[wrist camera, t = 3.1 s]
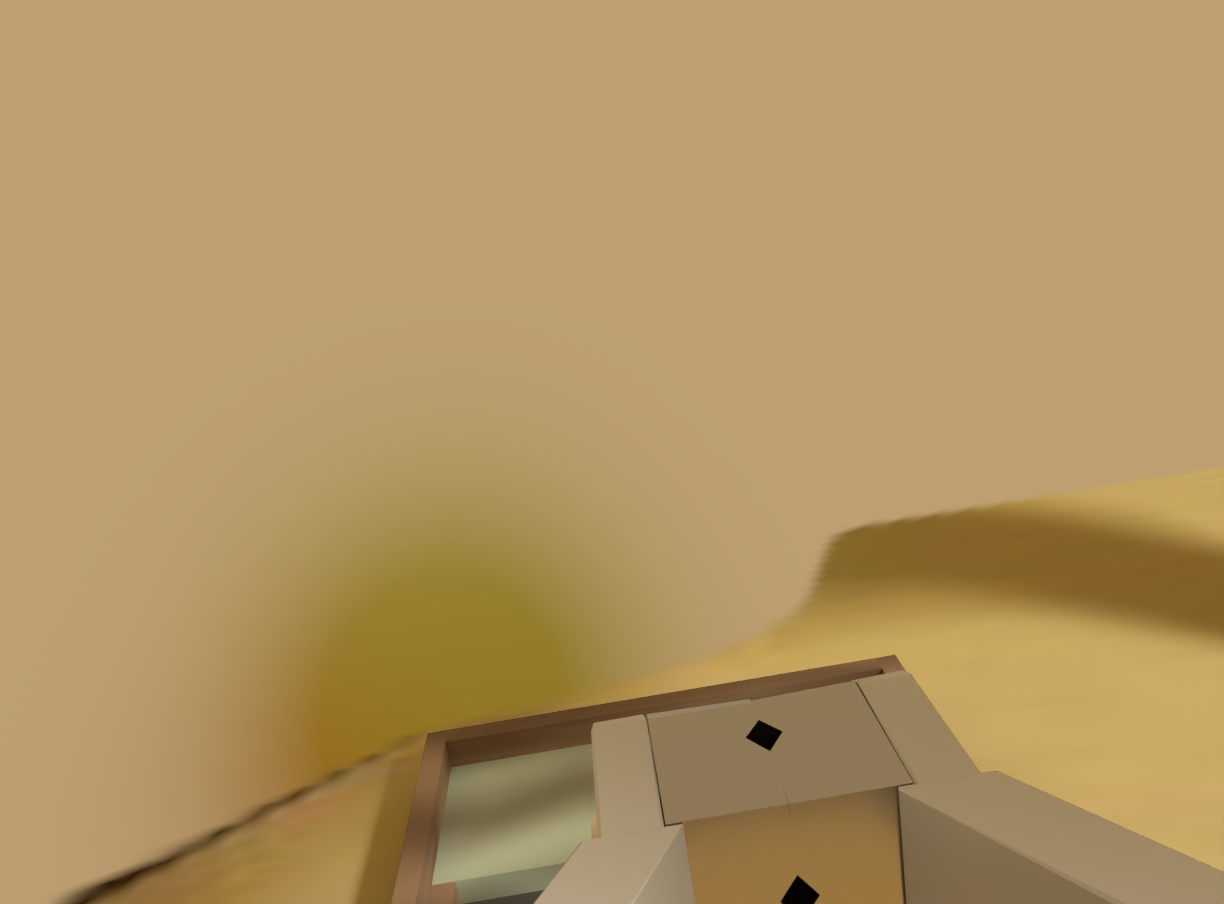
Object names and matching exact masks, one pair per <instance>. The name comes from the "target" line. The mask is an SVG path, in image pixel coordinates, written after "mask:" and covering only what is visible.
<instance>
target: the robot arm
mask: <svg viewBox="0 0 1224 904" xmlns="http://www.w3.org/2000/svg"><path fill="white" fill-rule="evenodd" d="M647 721H648V727H647ZM647 721H646V718H645V717H644V715H643V714H642V715H636V716H630V717H625V718H619V719H614V720H608V721H602V722H597V723H593V726H592V730H591V738H592V754H593V770H594V785H595V801H596V816H597V832H598V838H596V839H590V840H585V841H582V842H581V843H580V844H579V846H578V847H577V848H576V849H575V851H574V852H573V853H572V855H571V856H570V857H569V858H568V860H567V861H566V862H565V864H564V865H563V866H562V867H561V869H560V870H559V871H558V873H557V874H556V875H555V876H554V878H553V879H552V880H551V882H550V883H549V884H548V886H547V887H546V888H545V889H544V891H543V892H542V893H541V895H540V896H539V897H538V898H537V900H536V901H535V902H534V904H1224V872H1223V871H1220V870H1218V869H1216V868H1214V867H1212V866H1209V865H1207V864H1205V863H1203V862H1200V861H1198V860H1196V859H1194V858H1191V857H1189V856H1187V855H1185V854H1182V853H1180V852H1178V851H1176V850H1173V849H1171V848H1169V847H1167V846H1165V845H1162V844H1160V843H1158V842H1156V841H1153V840H1151V839H1149V838H1147V837H1144V836H1142V835H1140V834H1138V833H1135V832H1133V831H1131V830H1129V829H1126V828H1124V827H1122V826H1120V825H1117V824H1115V823H1113V822H1111V821H1109V820H1106V819H1104V818H1102V817H1100V816H1097V815H1095V814H1093V813H1091V812H1088V811H1086V810H1084V809H1082V808H1079V807H1077V806H1075V805H1073V804H1070V803H1068V802H1066V801H1064V800H1062V799H1059V798H1057V797H1055V796H1053V795H1050V794H1048V793H1046V792H1044V791H1041V790H1039V789H1037V788H1035V787H1032V786H1030V785H1028V784H1026V783H1023V782H1021V781H1019V780H1017V779H1015V778H1012V777H1010V776H1008V775H1006V774H1003V773H1001V772H999V771H992V772H986V773H980V771H979V770H978V769H977V767H976V766H975V764H974V763H973V761H972V760H971V759H970V757H969V756H968V754H967V753H966V752H965V750H964V749H963V747H962V746H961V744H960V743H959V742H958V740H957V739H956V737H955V736H954V734H953V733H952V732H951V730H950V729H949V727H948V726H947V724H946V723H945V722H944V720H943V719H942V717H941V716H940V715H939V713H938V712H937V710H936V709H935V707H934V706H933V705H932V703H931V702H930V700H929V699H928V697H927V696H926V695H925V693H924V692H923V690H922V689H921V687H920V686H919V685H918V683H917V682H916V680H915V679H914V678H913V676H912V675H911V674H910V673H908V672H906V671H904V670H900V671H896V672H891V673H886V674H881V675H876V676H871V677H866V678H862V679H857V680H852V681H850V682H845V683H840V684H834V685H829V686H824V687H819V688H813V689H808V690H803V691H798V692H793V693H787V694H782V695H777V696H772V697H766V698H761V699H756V700H750V699H746V700H740V701H733V702H726V703H719V704H712V705H706V706H699V707H692V708H685V709H678V710H672V711H665V712H658V713H651V714H647ZM648 728H649V733H648ZM649 734H650V738H649ZM650 740H651V744H650ZM651 747H652V750H651ZM652 753H653V756H652ZM653 759H654V762H653ZM654 765H655V767H654ZM655 771H656V773H655ZM656 777H657V779H656ZM657 783H658V785H657ZM658 789H659V791H658Z"/></svg>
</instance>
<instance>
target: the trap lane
mask: <svg viewBox="0 0 1224 904" xmlns="http://www.w3.org/2000/svg"><path fill="white" fill-rule="evenodd" d="M900 670H904V671H905V669H904V668H903V666H902V665H901V663H900V662H899V660H898V659H897V657H896V656H895V655H891V656H886V657H880V658H874V659H868V660H862V661H856V662H850V663H844V664H838V665H832V666H826V667H820V668H814V669H808V670H802V671H796V672H791V673H785V674H779V675H773V676H767V677H761V678H755V679H749V680H743V681H737V682H731V683H725V684H719V685H713V686H707V687H701V688H695V689H690V690H684V691H678V692H672V693H666V694H660V695H654V696H648V697H642V698H636V699H630V700H624V701H618V702H612V703H606V704H600V705H594V706H589V707H583V708H577V709H571V710H565V711H559V712H553V713H547V714H541V715H535V716H529V717H523V718H517V719H511V720H505V721H499V722H493V723H488V724H482V725H476V726H470V727H464V728H458V729H452V730H446V731H440V732H434V733H428V735H427V739H426V744H425V749H424V753H423V758H422V762H421V767H420V772H419V776H418V781H417V785H416V790H415V795H414V799H413V804H412V809H411V813H410V818H409V822H408V827H407V832H406V836H405V841H404V845H403V850H402V855H401V859H400V864H399V869H398V873H397V878H396V882H395V887H394V892H393V896H392V901H391V904H534V902H535V901H536V900H537V898H538V897H539V896H540V895H541V893H542V892H543V891H544V889H545V888H546V887H547V886H548V884H549V883H550V882H551V880H552V879H553V878H554V876H555V875H556V874H557V873H558V871H559V870H560V869H561V867H562V866H563V865H564V864H565V862H566V861H567V860H568V858H569V857H570V856H571V855H572V853H573V852H574V851H575V849H576V848H577V847H578V846H579V844H580V843H581V842H582V841H585V840H590V839H592V833H591V817H596V801H595V785H594V770H593V754H592V738H591V730H592V726H593V723H597V722H602V721H608V720H614V719H619V718H625V717H630V716H636V715H642V714H643V715H644V717H645V718H646V721H647V714H651V713H658V712H665V711H672V710H678V709H685V708H692V707H699V706H706V705H712V704H719V703H726V702H733V701H740V700H746V699H750V700H756V699H761V698H766V697H772V696H777V695H782V694H787V693H793V692H798V691H803V690H808V689H813V688H819V687H824V686H829V685H834V684H840V683H845V682H850V681H852V680H857V679H862V678H866V677H871V676H876V675H881V674H886V673H891V672H896V671H900ZM647 727H648V721H647ZM648 733H649V728H648ZM649 738H650V734H649ZM650 744H651V740H650ZM651 750H652V747H651ZM652 756H653V753H652ZM653 762H654V759H653ZM654 767H655V765H654ZM655 773H656V771H655ZM656 779H657V777H656ZM657 785H658V783H657ZM658 791H659V789H658Z"/></svg>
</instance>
